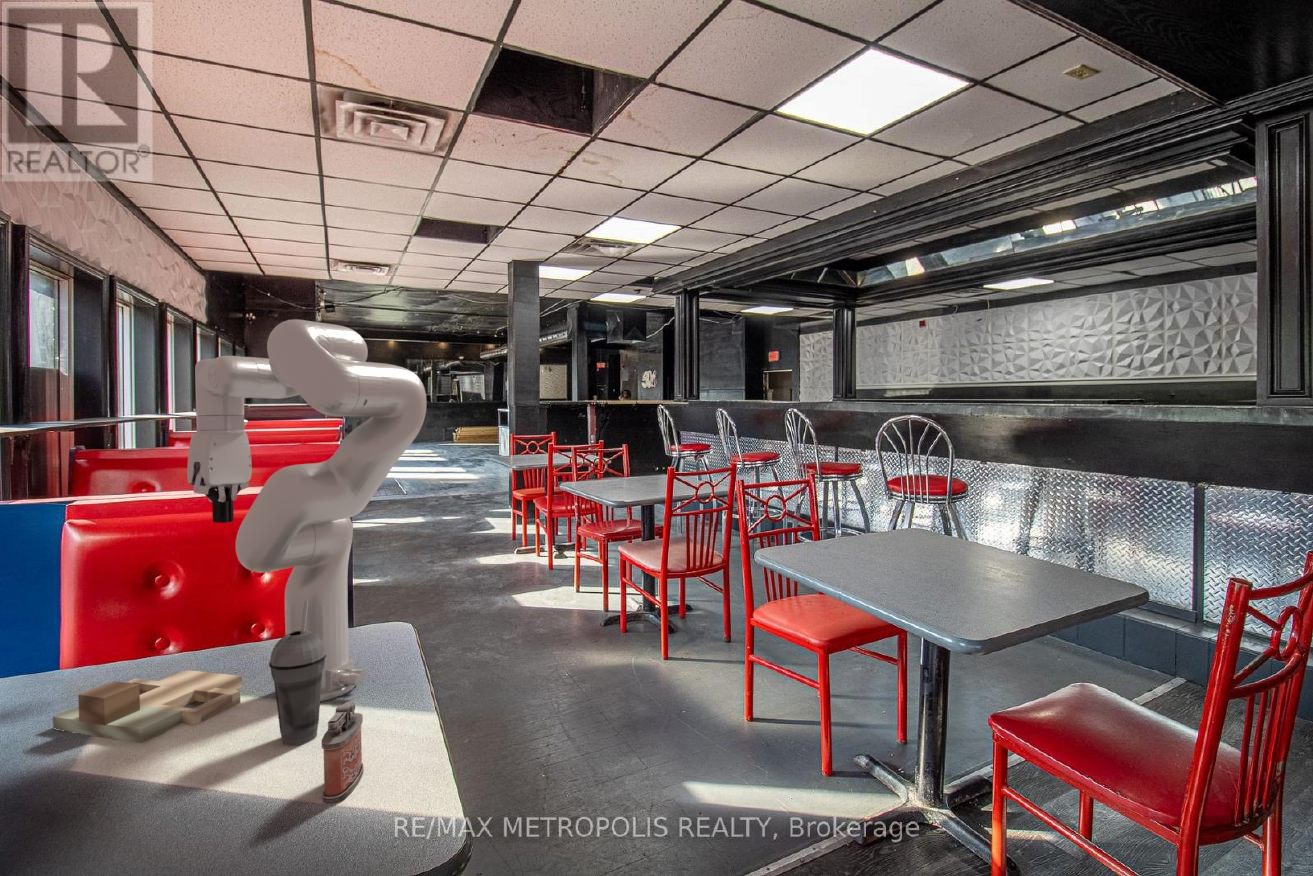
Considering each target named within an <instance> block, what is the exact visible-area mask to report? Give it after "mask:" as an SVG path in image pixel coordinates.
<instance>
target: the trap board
mask: <svg viewBox="0 0 1313 876" xmlns="http://www.w3.org/2000/svg"><path fill="white" fill-rule="evenodd" d="M242 680H243V679H242V675H237V674H227V673H219V672H210V671H209V672H207V671H199V670H191V669H190V670H189V669H185V670H182V671H180V672H178V673H175V674H173V675H170V676H167V677H165V678H163V679H161V680H153V679H152V680H151V679H145V678H133V679H130V680H128V681H125V683H133V684H139V690H140V710H139V711H137V712H134V713H132V714H130V715H128V716H125V717H123V718H121V719H118V720H116V721H114V722H111V723H109V724H107V725H100V724H93V723H86V722H80V721H79V706H76V707H74V708H72V709H70V710H67V711H63V712H62V713H59V714H56V715H54V716H52V727H53V728H56V729H60V730H64V731H68V732H67V733H71V732H75V733H74V734H78V733H81V734H80V735H84V734H85V736H93V737H99V738H105V739H113V740H118V741H125V742H134V743H141V744H143V743H145V742H147V741H149V740H151V739H153V738H156V737H157V736H160V735H162V734H163V733H165V732H168V731H169V730H172V729H174V728H176V727H178V726H180V725H189V726H197V725H199V724H201V723H203V722H204V721H207V720H208V719H211V718H212V717H215V716H217V715H219V714H221V713H222V712H225V711H226V710H229V709H231V708H233V707H234V706H237V705H239V704H241V690H239V689H242V687H243V681H242ZM53 728H52V729H53ZM64 731H63V732H64Z"/></svg>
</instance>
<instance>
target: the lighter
mask: <svg viewBox="0 0 1313 876" xmlns="http://www.w3.org/2000/svg"><path fill="white" fill-rule="evenodd" d="M355 710H356V701H354V700H352V701H351V700H349V701H346V702H345V703H343V705H338V706H337V707H336V709H335V712H334V715H333V716H332V717H331V718H330V719H329V720H328V722H327V730H326V731H325V733H324V735H323V737H322V738H321V749H323V784H324V785H323V792H322V804H324V805H328V806H330V805H331V806H332V805H336V804H337V805H338V804H340V803H343V801H345V800H346V799H347V798H348V797H349V796H350V795H352V793H353V792H354V790H355V789H356V788H357V787H358V786H359V784H360V781H361V780H362V778H363V774H364V773H365V772H364V771H365V769H364V765H365V764H364V763H363V755H362V754H363V753H362V750H363V749H362V724H363V719H364V718H363V714H362V713H361V712H360V713H359V712H355Z"/></svg>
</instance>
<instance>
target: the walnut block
mask: <svg viewBox="0 0 1313 876" xmlns="http://www.w3.org/2000/svg"><path fill="white" fill-rule="evenodd" d="M125 682H126V681H125ZM125 682H124V681H115V680H113V681H111V682H108V683H106V684H103V685H100V686H97V687H95V688H93V689H90V690H86V691H85V692H81V693H79V694H78V700H77V701H78V707H79V721H80V722H86V723H93V724H100V725H107V724H109V723H111V722H114V721H116V720H118V719H121V718H123V717H125V716H128V715H130V714H132V713H134V712H137V711H139V710H140V690H139V684H133V683H125Z"/></svg>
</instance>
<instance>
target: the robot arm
mask: <svg viewBox="0 0 1313 876" xmlns="http://www.w3.org/2000/svg"><path fill="white" fill-rule="evenodd" d="M266 345H267V346H266V350H267V356H268V357H266V358H264V357H254V356H253V357H252V356H238V355H221V356H218V357H215V358H207V359H205V358H204V359H201V360H198V361H197V362H196V364H195V367H194V371H195V372H194V374H195V375H194V376H195V377H194V378H195V379H194V380H195V384H194V385H195V414H196V418H195V419H196V422H195V423H196V432H193V433H192V435H191V438H190V442H189V448H188V456H187V470H186V471H187V483H188V485H190V486H193V493H194V494H198V495H199V494H200V495H204V496H206V497H207V499H208V501H209V502H211V505H212V506H211V508H212V511H211V513H212V522H213V523H215V524H217V523H218V524H219V523H221V524H227V523H231V522H232V523H233V522H234V519H235V517H234V516H235V514H234V513H235V512H234V501H236V500H237V498H238V494H239V492H241V491H243V490H245V489H247V488H249V486H250V483H249V481H250V480H251V478H252V473H253V470H252V468H253V467H252V453H251V447H250V441H249V437H248V433H247V432H246V430H245V427H246V426H247V424H248V420H247V419H245V399H271V400H273V399H285V398H286V399H287V398H293V397H295V396H300V397H301V398H302V399H303V400H304V401H305V402H306V403H307V404H308V405H309V406H310V407H311V408H312V409H314V410H315V411H316V412H319V413H320V414H323V415H325V416H330V417H331V416H332V417H369V418H368V419H367V420H366V421H364V422H363V423H362V424H359V425H358V426H357V427H356V428H355V429H353V430H352V431H351V432H349V433H348V434H347V436H345V438H344V439H343V440H342V441H341V443H340V445H339V446H338V448H337V450H336V451H335V453H333V455H332V456H331V457H330V458H328V459H327V460H323V461H321V462H316V463H303V464H302V463H301V464H293V465H289V466H284V467H283V468H282V467H281V468H280V469H279V470H277V471H275V472H274V473H273V474H272V475H271V476H270V477H268V479H267V480H266V482H265V483H264V484H263V486H262V488H261V490H260V491H259V493H258V495H257V496H256V497H255V499H254V501H253V503H252V504H251V506H250V508H249V510H248V511H247V513H246V515H245V517H244V518H243V520H242V521H241V524H240V526H239V529H238V531H237V535H236V539H235V553H236V556H237V559H238V561H239V563H240V564H241V565H242V566H243V567H244V568H245V569H247V570H248V571H251V572H254V573H261V574H262V573H270V572H275V571H279V570H280V571H281V570H285V569H290V568H293V569H292V571H291V572H290V575H289V577H288V579H287V582H286V584H285V589H284V618H285V619H284V623H285V635H287V634H289V633H291V632H294V631H301V625H302V617H303V608H304V601H308V608H307V617H306V625H305V631H308V632H311V633H313V634H315V635H316V636H317V637H319V639H320V640H321V642H322V644H323V646H324V650H325V654H326V658H325V664H324V669H323V671H322V683H321V696H320V702H325V701H328V700H331V699H335V698H338V697H340V696H344V695H345V694H347V693H349V692H350V690H351V691H352V690H353V689H355V688H356V687H360V686H361V685H362V683H363V681H364V678H365V677H366V676H367V670H366V669H362V668H355V659H354V658H349V653H350V652H349V610H348V608H349V607H348V606H349V605H348V602H349V601H348V597H349V596H348V575H349V574H348V571H349V570H348V569H349V559H350V554H351V549H352V544H353V538H354V536H353V535H354V529H353V528H354V527H353V523H352V519H351V518H353V517H354V516H357V515H358V514H360V513H361V512H362V511H363V510H364V509H365V508H366V507H367V505H368V504H369V502H370V501H371V500H372V499H373V497H374V495H375V494H376V492H377V491H378V489H380V486H381V485H382V484H383V482H384V481H385V479H386V478H387V476H388V474H389V472H390V471H391V469H392V468H393V467H394V465H395V464H396V463H397V461H399V459H400V458H401V457H402V455H403V454H404V453H405V452H406V450H407V449H409V447H410V446H411V445H412V443H413V442H414V440H415V439H416V438H417V436H418V434H419V433H420V431H421V429H422V426H423V424H424V421H425V417H426V412H427V392H426V389H425V386H424V383H423V382H422V380H421V378H420V377H419V376H418V375H417V374H416V373H414V372H413V371H412V370H410V369H407V368H405V367H403V366H399V365H396V364H390V363H381V362H373V361H372V362H371V361H367V359H368V353H369V352H368V345H367V343H366V341H365V340H364V338H363V337H362V336H361V334H359V333H358V332H357V331H355V330H354V329H352V328H350V327H347V326H344V325H339V324H334V323H333V324H332V323H326V322H318V321H313V320H312V321H311V320H304V319H287V320H285V321H282V322H280V323H279V324H277V325H276V326H275V327H274V328H273V329H272V331H271V332H270V333H269V336H268V338H267V343H266ZM355 686H356V687H355ZM354 687H355V688H354ZM348 691H349V692H348ZM337 696H338V697H337Z"/></svg>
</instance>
